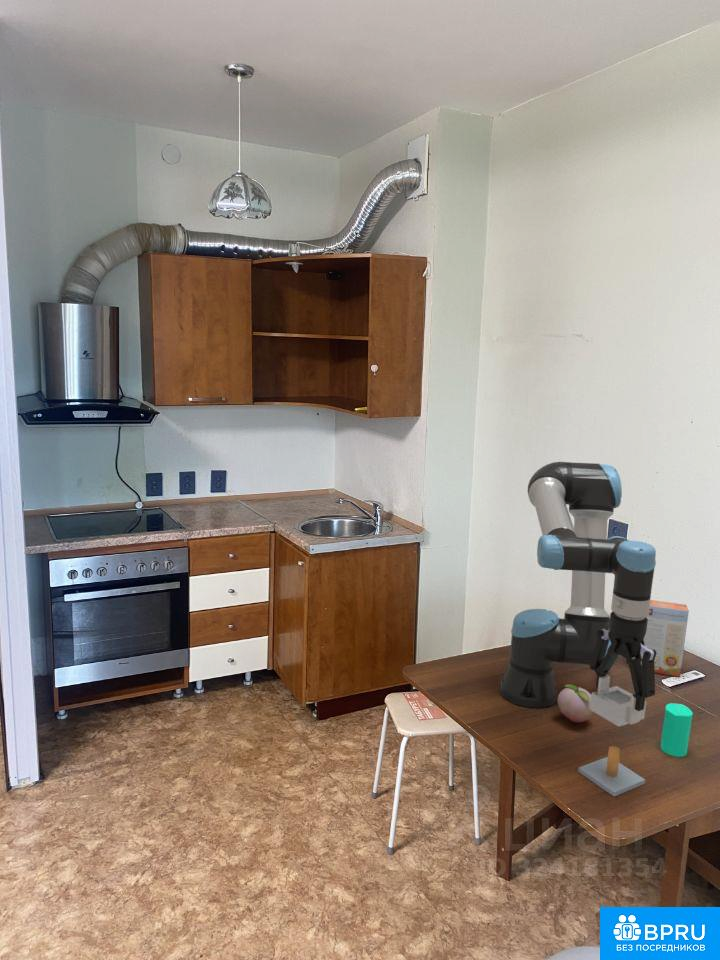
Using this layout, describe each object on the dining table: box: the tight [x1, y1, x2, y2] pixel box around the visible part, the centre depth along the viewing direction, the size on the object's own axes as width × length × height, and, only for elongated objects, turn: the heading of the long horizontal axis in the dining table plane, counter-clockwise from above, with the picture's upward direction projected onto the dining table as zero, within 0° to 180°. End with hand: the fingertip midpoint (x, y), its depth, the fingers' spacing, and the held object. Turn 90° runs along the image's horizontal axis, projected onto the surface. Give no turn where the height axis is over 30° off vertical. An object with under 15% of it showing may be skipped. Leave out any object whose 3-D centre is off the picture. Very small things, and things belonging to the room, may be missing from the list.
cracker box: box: [632, 599, 690, 677], centre depth 212 cm, size 14×6×21 cm, turn 72°
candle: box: [660, 702, 694, 758], centre depth 170 cm, size 6×6×12 cm
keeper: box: [577, 745, 646, 797], centre depth 158 cm, size 10×10×7 cm
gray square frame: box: [590, 685, 647, 728], centre depth 155 cm, size 8×8×4 cm
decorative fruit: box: [556, 684, 594, 723], centre depth 181 cm, size 9×8×10 cm
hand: (617, 712), depth 156 cm, fingers closed on gray square frame, 8 cm apart
